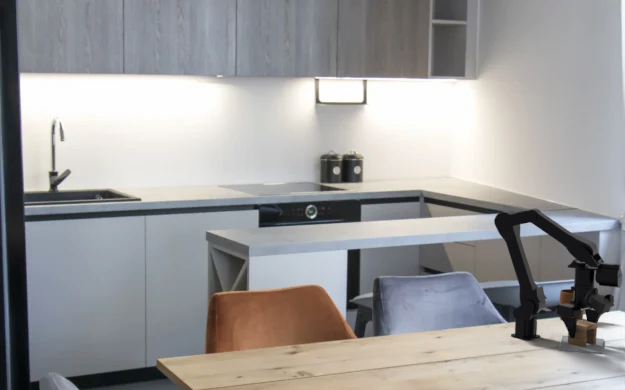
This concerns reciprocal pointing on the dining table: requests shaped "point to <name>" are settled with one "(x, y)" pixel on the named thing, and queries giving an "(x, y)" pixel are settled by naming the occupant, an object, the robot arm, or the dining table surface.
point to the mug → (568, 299)
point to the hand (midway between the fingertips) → (582, 335)
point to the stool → (584, 334)
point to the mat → (589, 347)
